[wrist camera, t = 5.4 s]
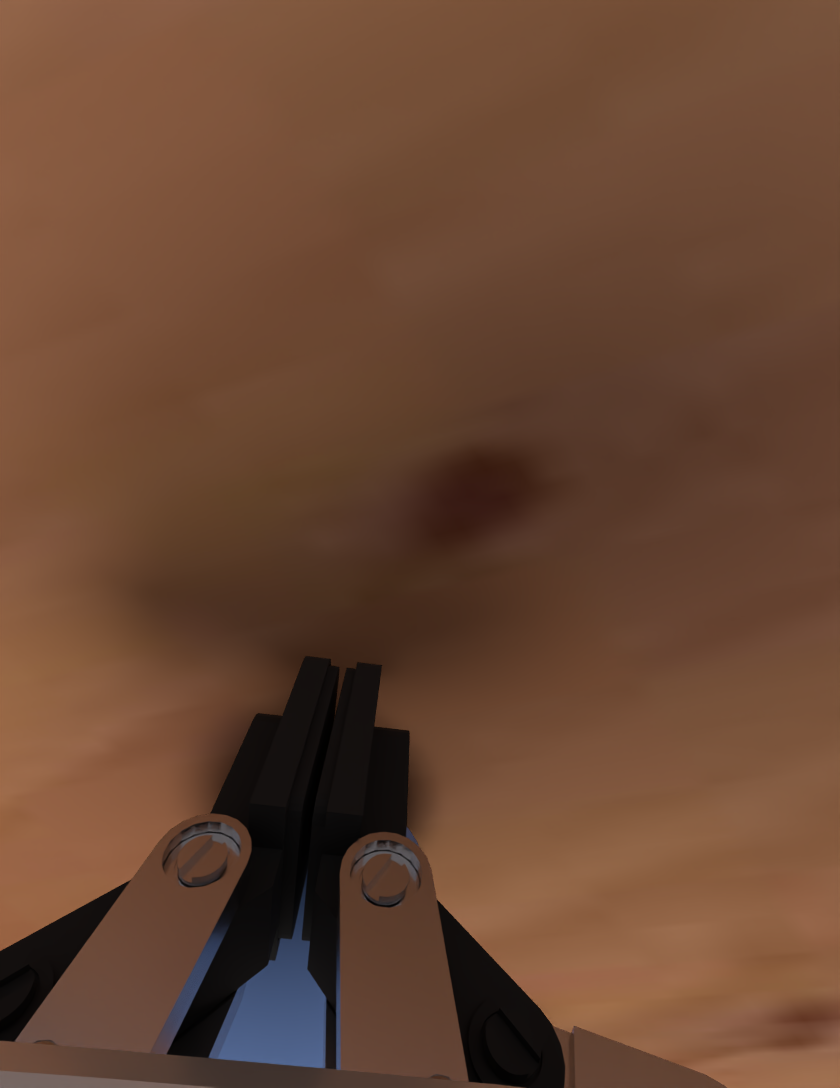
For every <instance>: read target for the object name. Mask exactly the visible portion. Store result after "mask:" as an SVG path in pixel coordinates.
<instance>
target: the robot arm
mask: <svg viewBox="0 0 840 1088" xmlns="http://www.w3.org/2000/svg"><path fill="white" fill-rule="evenodd" d="M381 668H382V665H375V664H367V663H359V662H358V663H357V667H356V669H353V668H347V669H346V673H345V677H344V682H343V686H342V690H341V694H340V698H339V703H338V707H337V711H336V715H335V708H336V698H337V688H338V678H339V667H336V666H331V659H326V658H318V657H309V656H306V657H305V658H304V661H303V663H302V666H301V668H300V671H299V674H298V676H297V679H296V682H295V684H294V687H293V689H292V692H291V695H290V697H289V700H288V703H287V705H286V708H285V710H284V713H283V716H277V715H269V714H260V713H258V714H257V715H256V716H255V718H254V719H253V721H252V723H251V726H250V728H249V730H248V732H247V734H246V737H245V739H244V741H243V743H242V745H241V748H240V750H239V752H238V754H237V756H236V759H235V761H234V763H233V765H232V767H231V770H230V772H229V774H228V776H227V778H226V780H225V783H224V785H223V787H222V789H221V791H220V794H219V796H218V798H217V800H216V802H215V805H214V807H213V809H212V811H211V813H210V814H205V815H199V816H195V817H193V818H190V819H188V820H185V821H183V822H181V823H180V824H178V825H177V826H175V827H174V828H172V829H170V830H169V831H168V832H167V833H166V834H165V836H164V837H163V838H162V839H161V840H160V841H159V842H158V844H157V845H156V846H155V848H154V849H153V850H152V852H151V853H150V855H149V856H148V857H147V859H146V860H145V861H144V863H143V864H142V866H141V867H140V868H139V870H138V871H137V873H136V874H135V875H134V877H133V878H132V879H131V880H130V881H128V882H126V883H124V884H122V885H121V886H119V887H117V888H115V889H113V890H111V891H110V892H108V893H106V894H104V895H102V896H100V897H99V898H97V899H95V900H93V901H91V902H89V903H88V904H86V905H84V906H82V907H80V908H78V909H77V910H75V911H73V912H71V913H69V914H67V915H66V916H64V917H62V918H60V919H58V920H57V921H55V922H53V923H51V924H49V925H47V926H46V927H44V928H42V929H40V930H38V931H36V932H35V933H33V934H31V935H29V936H27V937H25V938H24V939H22V940H20V941H18V942H16V943H14V944H13V945H11V946H9V947H7V948H5V949H3V950H2V951H0V1088H727V1087H726V1086H724V1085H723V1084H721V1083H719V1082H718V1081H716V1080H714V1079H712V1078H711V1077H709V1076H707V1075H705V1074H703V1073H700V1072H697V1071H695V1070H692V1069H689V1068H686V1067H684V1066H681V1065H678V1064H676V1063H673V1062H670V1061H668V1060H665V1059H662V1058H660V1057H657V1056H654V1055H651V1054H649V1053H646V1052H643V1051H641V1050H638V1049H635V1048H633V1047H630V1046H627V1045H625V1044H622V1043H619V1042H616V1041H614V1040H611V1039H608V1038H606V1037H603V1036H600V1035H598V1034H595V1033H592V1032H590V1031H587V1030H584V1029H582V1028H579V1027H576V1026H574V1027H573V1030H572V1032H571V1033H570V1032H567V1031H564V1030H562V1029H559V1028H556V1027H554V1026H552V1024H551V1023H550V1021H549V1020H548V1019H547V1017H546V1016H545V1015H544V1013H543V1012H542V1011H541V1009H540V1008H539V1007H538V1006H537V1005H536V1004H535V1003H534V1002H533V1001H532V1000H531V999H530V998H529V997H528V995H527V994H526V993H525V992H524V991H523V990H522V989H521V988H520V987H519V986H518V985H517V984H516V983H515V982H514V981H513V980H512V978H511V977H510V976H509V975H508V974H507V973H506V972H505V971H504V970H503V969H502V968H501V967H500V966H499V965H498V964H497V963H496V962H495V960H494V959H493V958H492V957H491V956H490V955H489V954H488V953H487V952H486V951H485V950H484V949H483V948H482V947H481V946H480V945H479V944H478V942H477V941H476V940H475V939H474V938H473V937H472V936H471V935H470V934H469V933H468V932H467V931H466V930H465V929H464V928H463V927H462V926H461V924H460V923H459V922H458V921H457V920H456V919H455V918H454V917H453V916H452V915H451V914H450V913H449V912H448V911H447V910H446V909H445V908H444V906H443V905H442V904H441V903H440V902H439V901H438V900H437V898H436V892H435V887H434V881H433V875H432V870H431V867H430V864H429V861H428V858H427V856H426V855H425V854H424V852H423V851H422V850H421V848H420V847H419V846H418V845H417V844H415V843H414V842H413V841H411V840H410V839H409V838H407V837H406V827H407V797H408V767H409V731H407V730H398V729H389V728H381V727H374V722H375V715H376V707H377V699H378V691H379V683H380V676H381ZM334 718H335V720H334ZM307 870H308V872H307ZM306 875H307V883H306V894H305V905H304V916H303V928H302V940H303V941H310V946H309V956H308V966H307V970H308V971H309V973H310V974H311V976H312V977H313V979H314V980H315V982H316V983H317V985H318V986H319V988H320V989H321V991H322V992H323V994H324V995H325V1002H324V1026H323V1068H315V1067H303V1066H292V1065H281V1064H269V1063H258V1062H247V1061H236V1060H224V1059H218V1057H219V1054H220V1052H221V1049H222V1047H223V1045H224V1042H225V1040H226V1037H227V1035H228V1032H229V1030H230V1028H231V1025H232V1023H233V1020H234V1018H235V1016H236V1013H237V1011H238V1008H239V1006H240V1003H241V1001H242V998H243V995H244V991H245V987H246V982H247V981H248V980H250V979H251V978H252V977H254V976H255V975H256V974H257V973H259V972H260V971H261V970H263V969H264V968H265V967H266V966H268V963H269V960H272V961H275V960H276V956H277V952H278V948H279V944H280V939H281V938H282V939H292V937H293V933H294V929H295V925H296V920H297V916H298V911H299V906H300V902H301V897H302V893H303V888H304V884H305V879H306Z"/></svg>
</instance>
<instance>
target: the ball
mask: <svg viewBox="0 0 840 1088" xmlns="http://www.w3.org/2000/svg"><path fill="white" fill-rule="evenodd" d="M406 837H407V838H409V839H410V840H411V841H413V842H414V843H415V844H417V845H418V843H417V841H416V839H415V838H414V836H413V835H412V833H411V832H410V830H409V829H408V828H407V827H406ZM418 846H419V845H418ZM307 872H308V870H307ZM306 883H307V875H306V879H305V884H304V888H303V893H302V897H301V902H300V906H299V911H298V916H297V920H296V925H295V929H294V933H293V937H292V939H282V938H281V939H280V944H279V948H278V952H277V956H276V960H275V961H272V960H269V963H268V966H266V967H265V968H264V969H263V970H261V971H260V972H259V973H257V974H256V975H255V976H254V977H252V978H251V979H250V980H248V981H247V982H246V987H245V991H244V995H243V998H242V1001H241V1003H240V1006H239V1008H238V1011H237V1013H236V1016H235V1018H234V1020H233V1023H232V1025H231V1028H230V1030H229V1032H228V1035H227V1037H226V1040H225V1042H224V1045H223V1047H222V1049H221V1052H220V1054H219V1057H218V1059H224V1060H236V1061H247V1062H258V1063H269V1064H281V1065H292V1066H303V1067H315V1068H323V1026H324V1002H325V995H324V994H323V992H322V991H321V989H320V988H319V986H318V985H317V983H316V982H315V980H314V979H313V977H312V976H311V974H310V973H309V971H308V970H307V966H308V956H309V946H310V941H303V940H302V928H303V916H304V905H305V894H306Z"/></svg>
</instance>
